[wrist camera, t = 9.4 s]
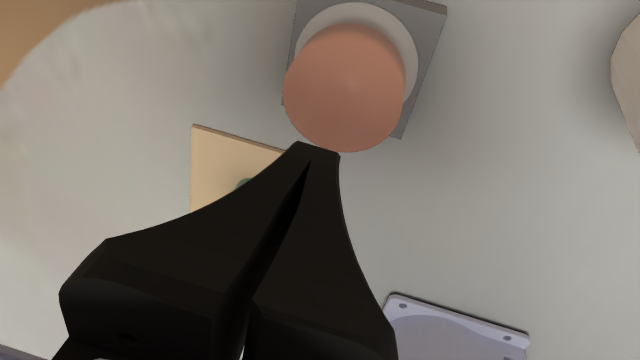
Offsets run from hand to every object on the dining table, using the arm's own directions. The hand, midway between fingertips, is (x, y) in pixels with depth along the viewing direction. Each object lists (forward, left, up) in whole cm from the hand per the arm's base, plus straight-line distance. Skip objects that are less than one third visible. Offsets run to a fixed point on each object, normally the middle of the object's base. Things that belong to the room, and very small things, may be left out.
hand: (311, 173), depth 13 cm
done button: (0, 0, -7) cm, 7 cm away
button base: (0, 0, -9) cm, 9 cm away
